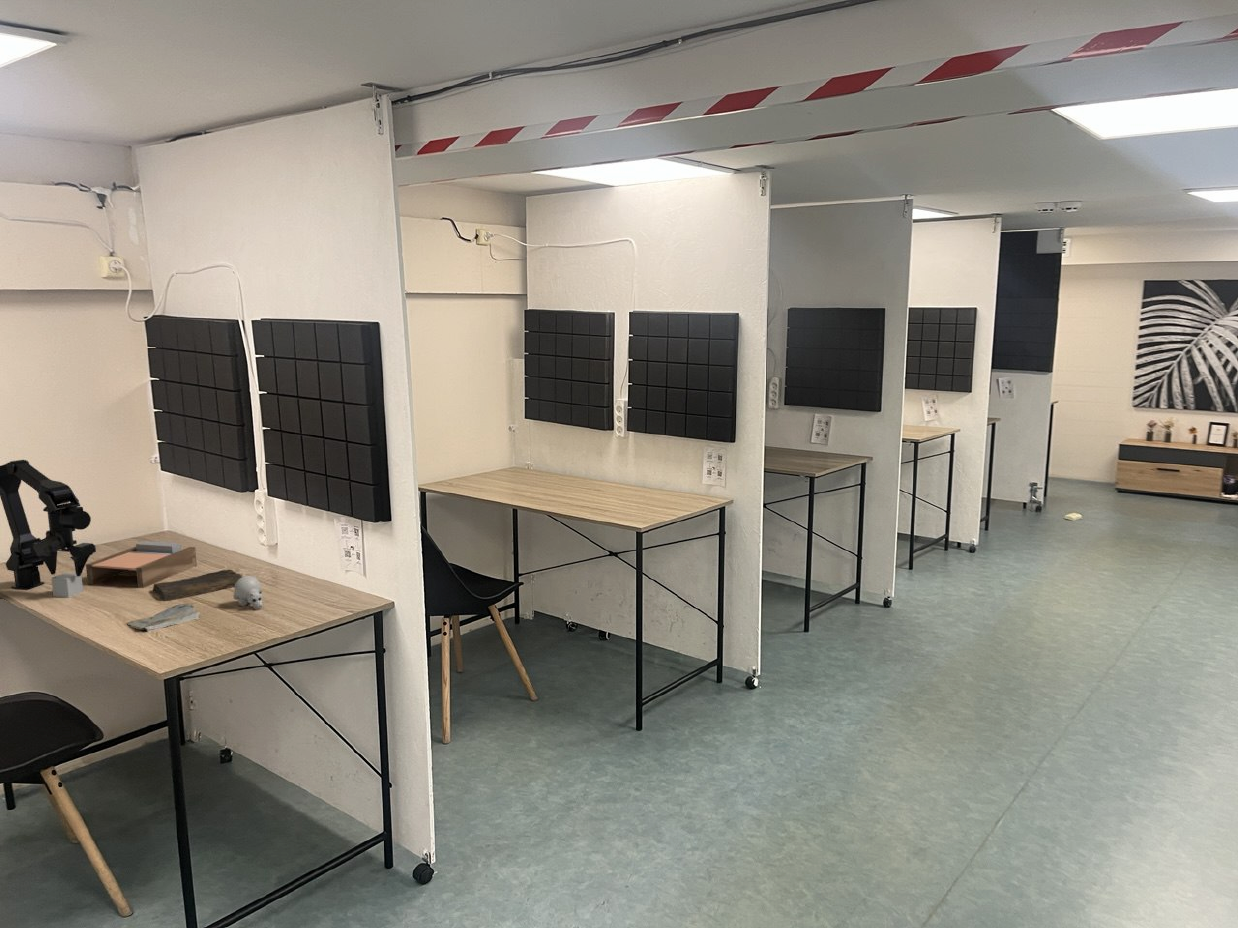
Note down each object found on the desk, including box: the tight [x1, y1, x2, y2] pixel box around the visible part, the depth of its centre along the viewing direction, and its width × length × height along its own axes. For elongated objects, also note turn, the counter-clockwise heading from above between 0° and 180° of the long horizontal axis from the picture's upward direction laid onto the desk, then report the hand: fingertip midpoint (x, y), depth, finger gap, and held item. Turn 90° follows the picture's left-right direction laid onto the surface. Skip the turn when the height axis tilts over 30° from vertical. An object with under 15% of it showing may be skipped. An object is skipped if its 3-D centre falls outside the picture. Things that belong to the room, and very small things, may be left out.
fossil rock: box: [125, 602, 200, 632], centre depth 244 cm, size 18×15×2 cm
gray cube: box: [50, 572, 84, 598], centre depth 265 cm, size 6×6×6 cm
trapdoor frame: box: [85, 546, 198, 589], centre depth 285 cm, size 21×25×6 cm
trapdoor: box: [92, 540, 182, 571], centre depth 283 cm, size 16×22×5 cm
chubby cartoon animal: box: [233, 575, 264, 610], centre depth 254 cm, size 7×12×8 cm, turn 45°
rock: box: [152, 569, 243, 602], centre depth 272 cm, size 25×4×15 cm
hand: (66, 575), depth 264 cm, fingers open, 9 cm apart
